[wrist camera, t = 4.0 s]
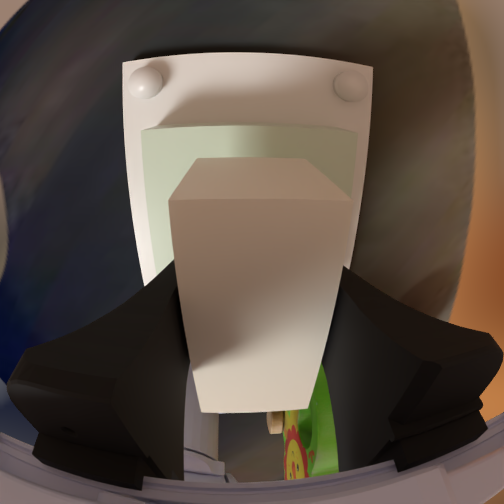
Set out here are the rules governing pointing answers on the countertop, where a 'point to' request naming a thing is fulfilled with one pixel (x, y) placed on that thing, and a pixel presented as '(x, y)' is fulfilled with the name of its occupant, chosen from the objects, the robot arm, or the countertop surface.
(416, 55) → the countertop surface
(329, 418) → the toy lion
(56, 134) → the countertop surface
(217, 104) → the white studded slab
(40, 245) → the countertop surface
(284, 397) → the cream brick
